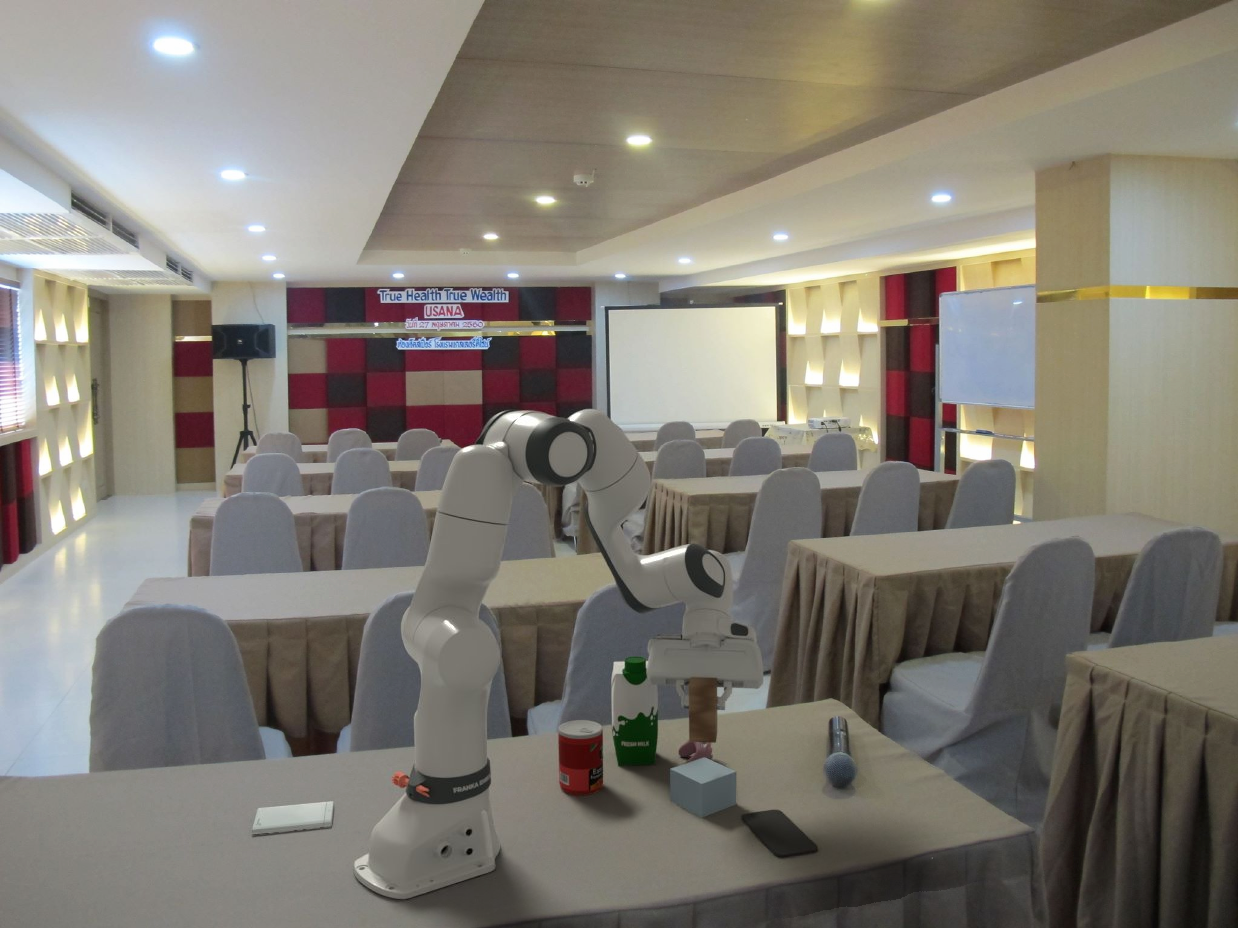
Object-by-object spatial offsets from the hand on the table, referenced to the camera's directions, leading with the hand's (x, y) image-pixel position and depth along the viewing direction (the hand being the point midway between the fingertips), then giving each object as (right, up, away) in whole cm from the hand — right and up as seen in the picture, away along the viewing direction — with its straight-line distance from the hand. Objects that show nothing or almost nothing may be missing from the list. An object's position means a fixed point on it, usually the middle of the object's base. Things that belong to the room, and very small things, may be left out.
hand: (703, 707), depth 172 cm
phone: (+11, -19, -9) cm, 24 cm away
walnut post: (0, -5, +1) cm, 5 cm away
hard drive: (-69, -19, -3) cm, 71 cm away
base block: (0, -17, +2) cm, 17 cm away
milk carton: (-11, -15, +22) cm, 29 cm away
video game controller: (0, -15, +18) cm, 24 cm away
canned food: (-21, -16, +9) cm, 28 cm away
